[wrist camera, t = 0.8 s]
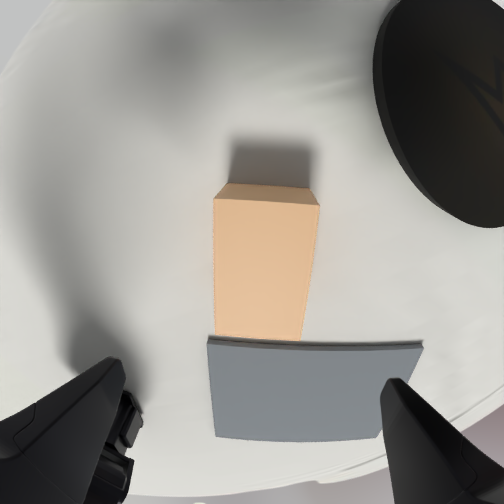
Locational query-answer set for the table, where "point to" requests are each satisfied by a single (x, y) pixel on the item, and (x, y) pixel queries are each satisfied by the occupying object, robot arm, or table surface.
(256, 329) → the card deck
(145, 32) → the table surface
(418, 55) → the wireless charger
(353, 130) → the table surface
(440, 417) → the robot arm
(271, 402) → the mat
